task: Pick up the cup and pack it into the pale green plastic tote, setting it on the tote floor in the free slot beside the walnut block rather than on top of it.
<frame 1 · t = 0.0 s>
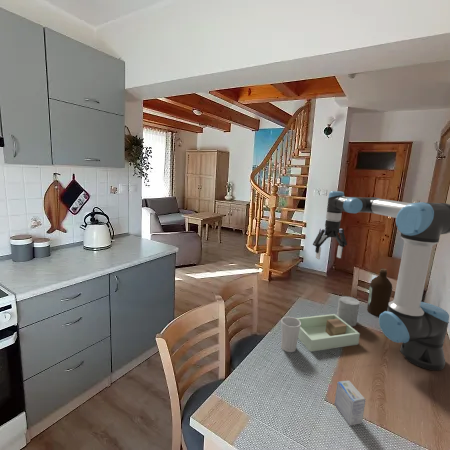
hand: (328, 258, 152), 28 cm above the table, fingers open, 13 cm apart
white can: (345, 323, 139), on the table
walnut block: (334, 334, 127), point 1 cm above the table, touching tote
medicine box: (347, 414, 86), on the table
olive oil: (376, 312, 152), on the table
cup: (288, 347, 117), on the table
tote: (322, 337, 125), on the table
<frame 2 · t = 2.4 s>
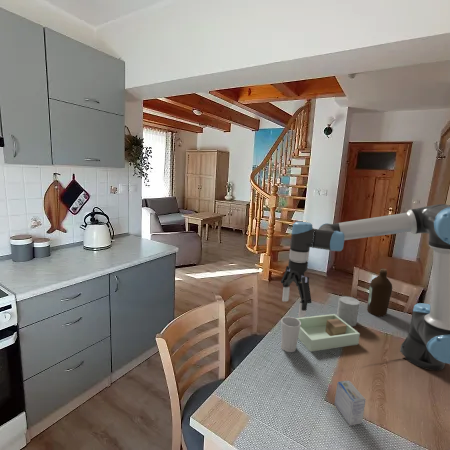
hand: (292, 308, 115), 17 cm above the table, fingers open, 13 cm apart
nothing on the table moved.
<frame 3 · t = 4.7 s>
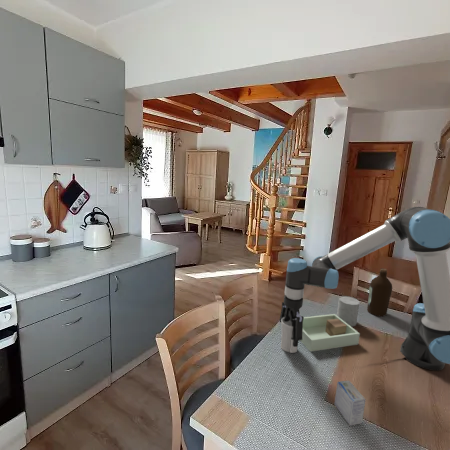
hand: (288, 345, 117), 1 cm above the table, fingers closed on cup, 7 cm apart
cup: (288, 347, 117), on the table, touching gripper
everything else where it was.
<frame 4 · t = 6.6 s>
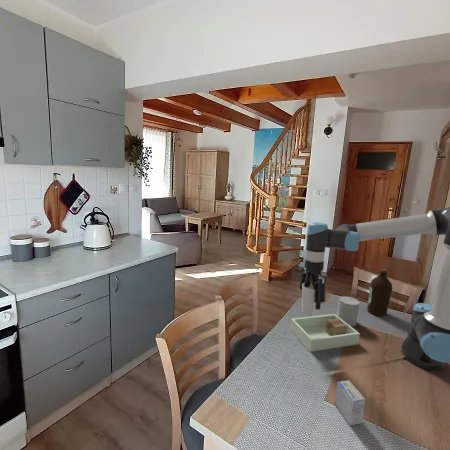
hand: (309, 310, 118), 15 cm above the table, fingers closed on cup, 7 cm apart
cup: (309, 312, 118), point 14 cm above the table, touching gripper
everything else where it was.
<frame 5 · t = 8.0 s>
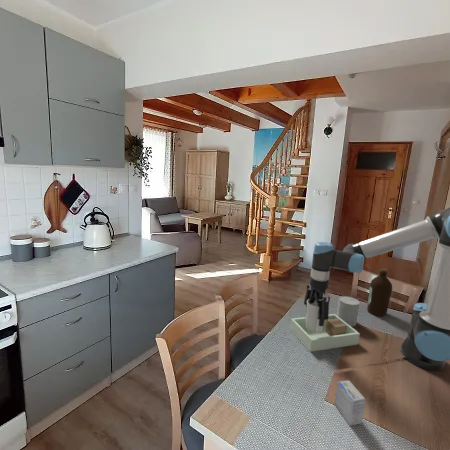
hand: (313, 326, 123), 6 cm above the table, fingers closed on cup, 7 cm apart
cup: (313, 328, 123), point 6 cm above the table, touching gripper
everything else where it was.
when the fingers open (3 cm above the table, at t = 8.8 s): cup drops 2 cm, resting on tote.
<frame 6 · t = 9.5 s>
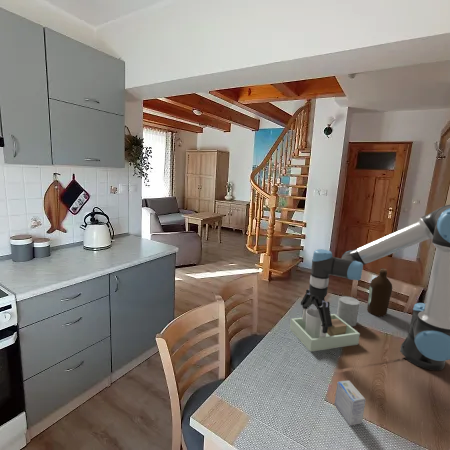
hand: (313, 329, 123), 5 cm above the table, fingers open, 13 cm apart
cup: (312, 338, 124), point 1 cm above the table, touching tote
everything else where it was.
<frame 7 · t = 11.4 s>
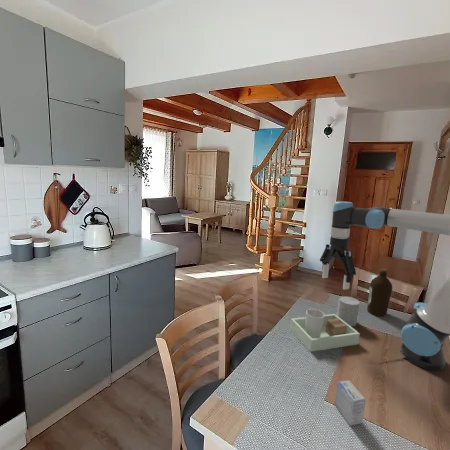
hand: (334, 283, 124), 25 cm above the table, fingers open, 13 cm apart
nothing on the table moved.
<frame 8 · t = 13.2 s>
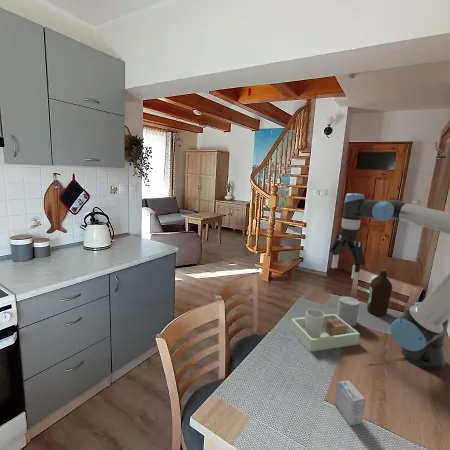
hand: (343, 272, 128), 29 cm above the table, fingers open, 13 cm apart
nothing on the table moved.
at the end: cup inside the target area on the tote (0.4 cm from its centre), point 0.6 cm above the tote's base; cup tilted 0°; walnut block moved 0.1 cm from its start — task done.
